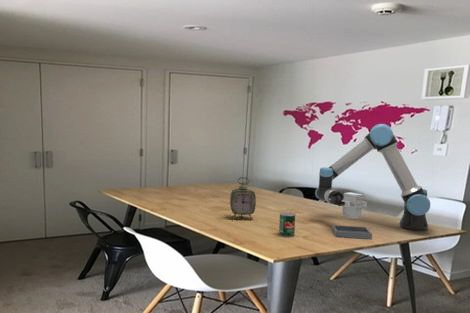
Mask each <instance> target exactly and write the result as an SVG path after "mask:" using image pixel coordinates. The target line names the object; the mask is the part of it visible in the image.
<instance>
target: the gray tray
mask: <svg viewBox="0 0 470 313" xmlns="http://www.w3.org/2000/svg"><path fill="white" fill-rule="evenodd" d="M331 228H332V229H331V232H332V233H333V235H334V237H335V238H342V237H344V238H346V239H357V240H359V239H360V240H373V233H372V232H371V231H370V229H368V228H367V226H366V227H365V226H353V225H352V226H351V225H339V224H338V225H337V224H335V225H334V224H332V227H331Z"/></svg>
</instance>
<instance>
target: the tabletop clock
mask: <svg viewBox="0 0 470 313" xmlns="http://www.w3.org/2000/svg"><path fill="white" fill-rule="evenodd" d="M241 179H244V180H245V179H246V180H247V181H248V182H244V181H242V182H239V180H241ZM237 183H238V184H240V185H239V186H238V188H234V189H232V190H231V192H230V198H229V200H230V201H229V204H230V210H231V212H232V214H234V215H233V216H232V218H231V219H232V220H233V221H234V220H235V216H236V215H240V217H239V218H240V219H243V218H244V215H245V216H247V215H248V216H249V219H250V220H251V221H252V220H253V219H254V218H253V217H252V215H253V214H254V212H255V210H256V206H257V205H256V204H257V200H256V194H255V191H253V190H252V189H249V188H248V187H247V185H248V184H249V183H250V179H249V178H247V177H245V176H244V177H243V176H242V177H239V178H237Z"/></svg>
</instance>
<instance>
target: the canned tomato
mask: <svg viewBox="0 0 470 313" xmlns="http://www.w3.org/2000/svg"><path fill="white" fill-rule="evenodd" d="M295 225H296V214H295V213H292V212H280V213H279V226H278V227H279V229H278V235H279V236H280V237H281V238H282V237H283V238H293V237H295V231H296V230H295V229H296V226H295Z"/></svg>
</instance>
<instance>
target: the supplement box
mask: <svg viewBox="0 0 470 313" xmlns="http://www.w3.org/2000/svg"><path fill="white" fill-rule="evenodd" d="M343 196H344V199H343V200H345V201H348V202H350V207H346V206H343V205H342V212H341V213H342V214H341V216H342V217H343V218H347V219H353V220H356V219H360V218H361V217H362V208H363V206H362V201H363V196H364V194H362V193H357V192H348V191H347V192H343Z"/></svg>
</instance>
